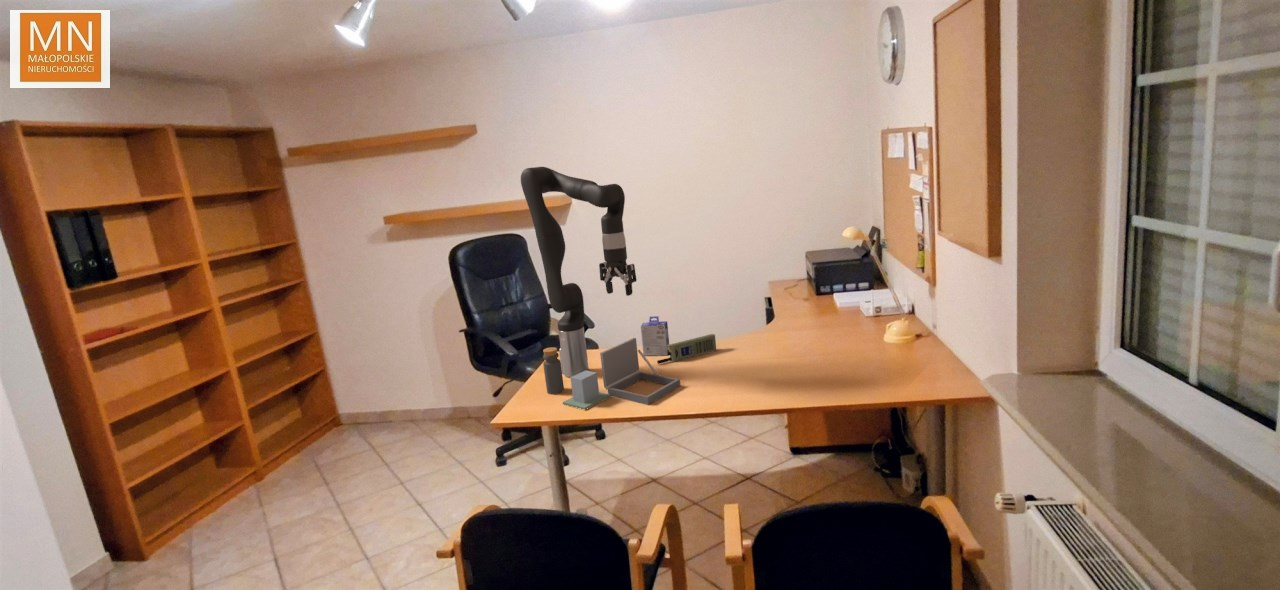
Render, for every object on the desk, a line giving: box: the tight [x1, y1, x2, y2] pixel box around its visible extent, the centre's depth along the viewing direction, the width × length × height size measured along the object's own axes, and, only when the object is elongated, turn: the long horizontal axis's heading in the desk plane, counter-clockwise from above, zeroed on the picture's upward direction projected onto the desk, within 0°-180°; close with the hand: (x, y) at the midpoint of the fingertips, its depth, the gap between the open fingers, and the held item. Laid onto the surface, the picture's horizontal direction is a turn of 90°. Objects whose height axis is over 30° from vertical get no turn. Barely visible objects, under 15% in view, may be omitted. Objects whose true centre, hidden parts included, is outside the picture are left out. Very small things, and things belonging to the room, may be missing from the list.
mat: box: [562, 391, 612, 410], centre depth 205 cm, size 10×12×1 cm
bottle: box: [542, 347, 565, 395], centre depth 214 cm, size 6×6×15 cm
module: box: [570, 370, 600, 404], centre depth 204 cm, size 5×7×8 cm
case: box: [599, 337, 681, 406], centre depth 207 cm, size 18×18×14 cm
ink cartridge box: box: [640, 315, 670, 357], centre depth 243 cm, size 10×6×14 cm, turn 79°
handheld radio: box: [656, 333, 717, 365], centre depth 236 cm, size 7×3×25 cm
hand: (619, 294), depth 210 cm, fingers open, 8 cm apart
